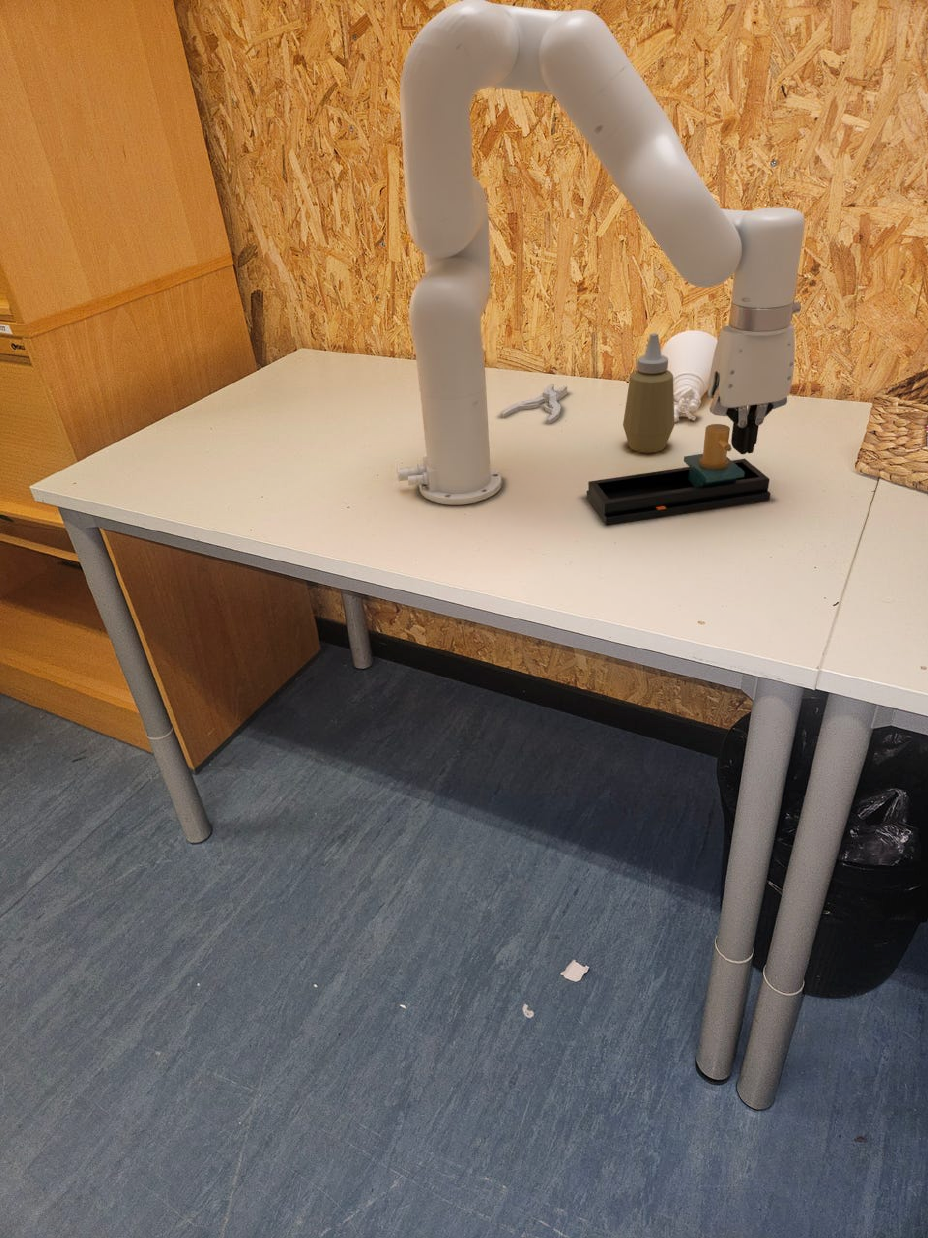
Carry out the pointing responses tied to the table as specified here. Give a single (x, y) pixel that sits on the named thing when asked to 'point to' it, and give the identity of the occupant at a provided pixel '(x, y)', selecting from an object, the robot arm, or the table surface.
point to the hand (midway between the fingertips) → (742, 449)
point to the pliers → (548, 396)
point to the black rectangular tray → (672, 494)
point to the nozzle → (713, 459)
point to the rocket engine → (689, 368)
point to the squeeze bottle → (650, 401)
